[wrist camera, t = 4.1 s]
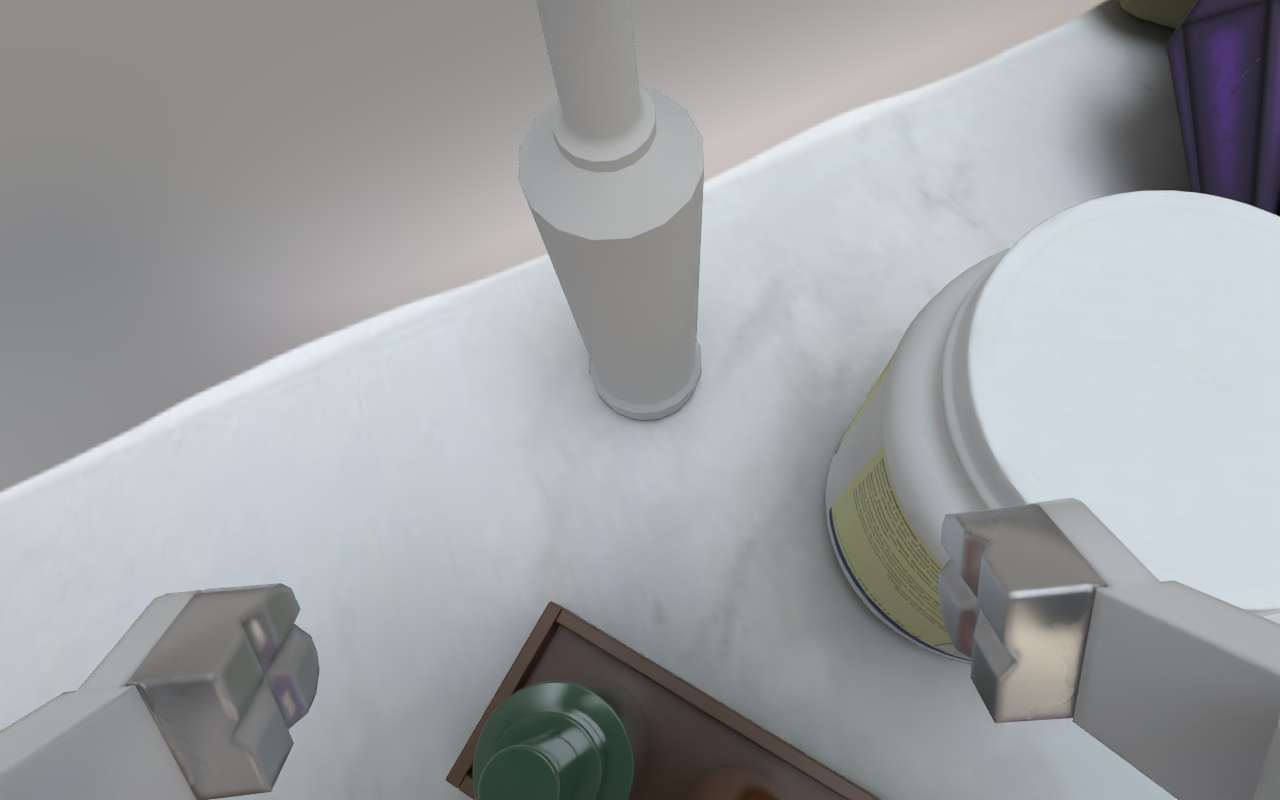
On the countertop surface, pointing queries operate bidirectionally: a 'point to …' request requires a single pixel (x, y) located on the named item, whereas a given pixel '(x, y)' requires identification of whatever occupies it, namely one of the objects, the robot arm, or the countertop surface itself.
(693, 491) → the countertop surface
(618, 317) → the bottle
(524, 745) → the green bottle
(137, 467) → the countertop surface
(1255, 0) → the crystal
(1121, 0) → the bottle
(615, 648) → the tray
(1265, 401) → the supplement tub
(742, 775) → the amber bottle
